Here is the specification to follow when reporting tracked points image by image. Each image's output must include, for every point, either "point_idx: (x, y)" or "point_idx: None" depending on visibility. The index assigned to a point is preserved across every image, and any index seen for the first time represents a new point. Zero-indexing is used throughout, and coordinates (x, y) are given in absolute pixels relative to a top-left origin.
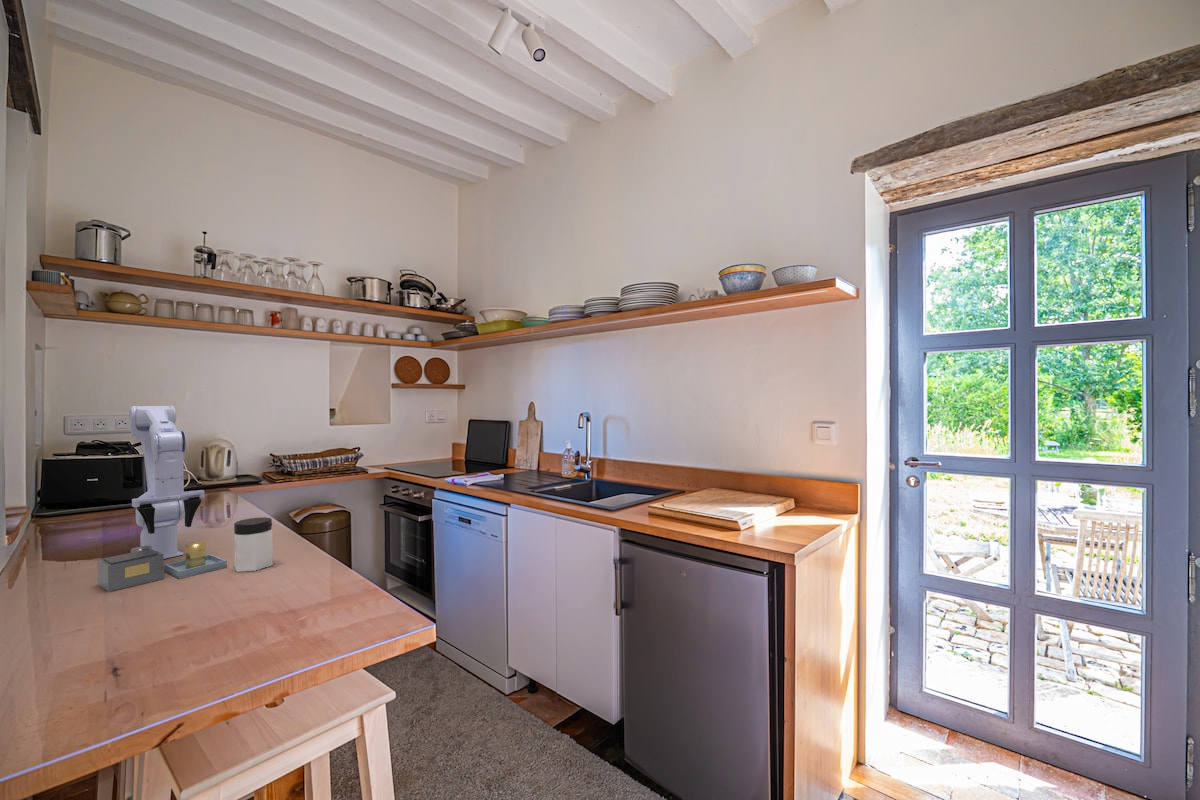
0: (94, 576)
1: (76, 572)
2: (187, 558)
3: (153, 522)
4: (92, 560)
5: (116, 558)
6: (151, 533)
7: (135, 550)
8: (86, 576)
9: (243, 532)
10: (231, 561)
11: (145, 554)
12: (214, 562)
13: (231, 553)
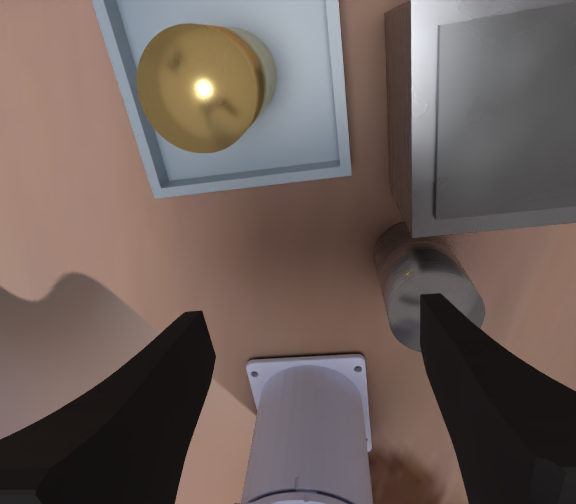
0: (541, 317)
1: None
2: (263, 59)
3: (459, 342)
4: (464, 498)
5: None
6: (439, 294)
7: (473, 289)
8: (556, 339)
9: None
10: (84, 91)
11: (504, 71)
12: None
13: (88, 244)
